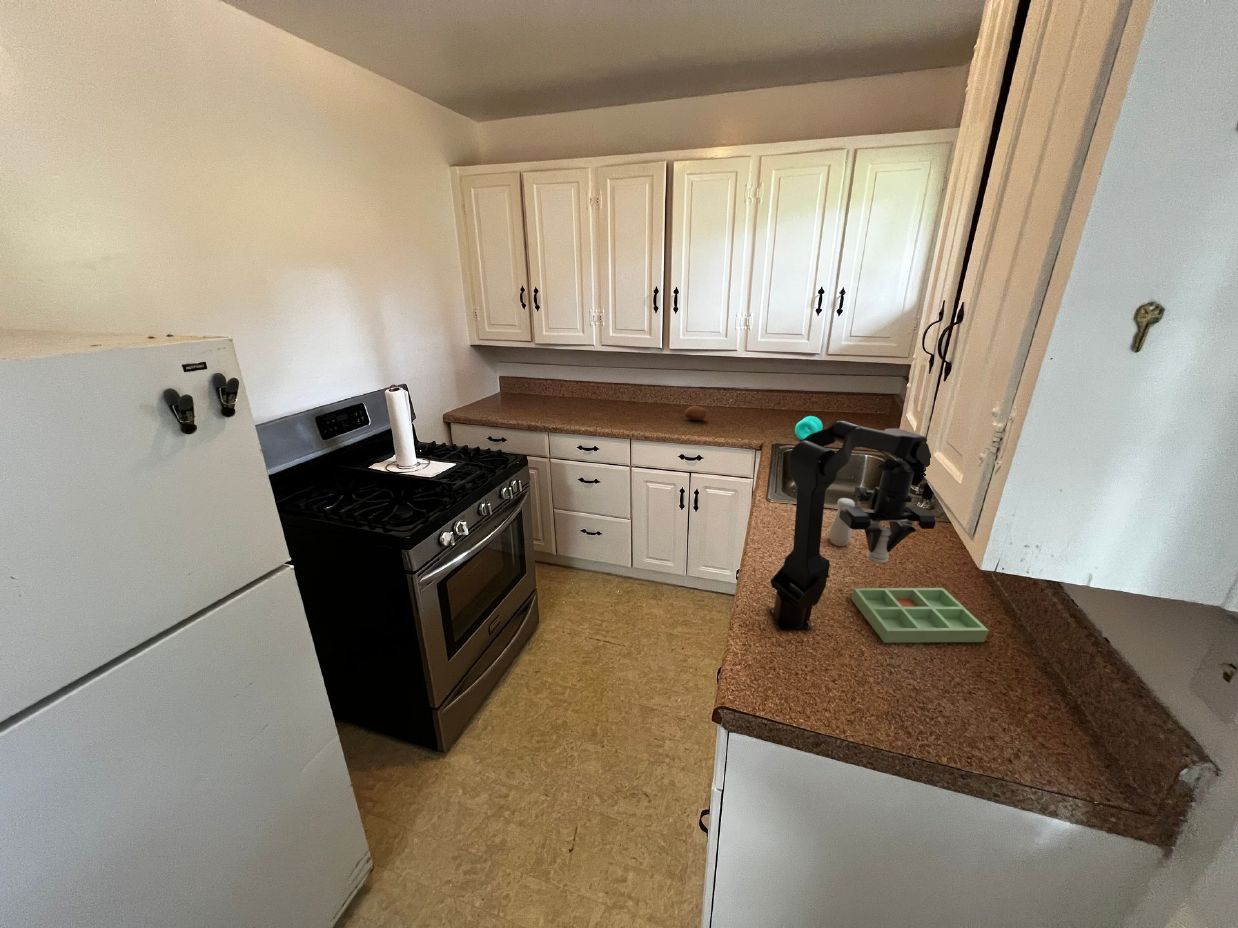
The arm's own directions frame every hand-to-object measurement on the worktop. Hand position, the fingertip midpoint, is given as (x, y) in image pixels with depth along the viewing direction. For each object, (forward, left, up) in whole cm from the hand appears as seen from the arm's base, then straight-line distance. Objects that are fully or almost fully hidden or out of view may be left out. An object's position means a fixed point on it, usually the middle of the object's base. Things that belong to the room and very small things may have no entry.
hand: (878, 551), depth 108 cm
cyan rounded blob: (+30, +113, -11) cm, 118 cm away
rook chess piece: (0, 0, -2) cm, 2 cm away
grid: (+5, -10, -11) cm, 15 cm away
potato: (-16, +143, -11) cm, 144 cm away
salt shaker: (+3, +22, -11) cm, 25 cm away
